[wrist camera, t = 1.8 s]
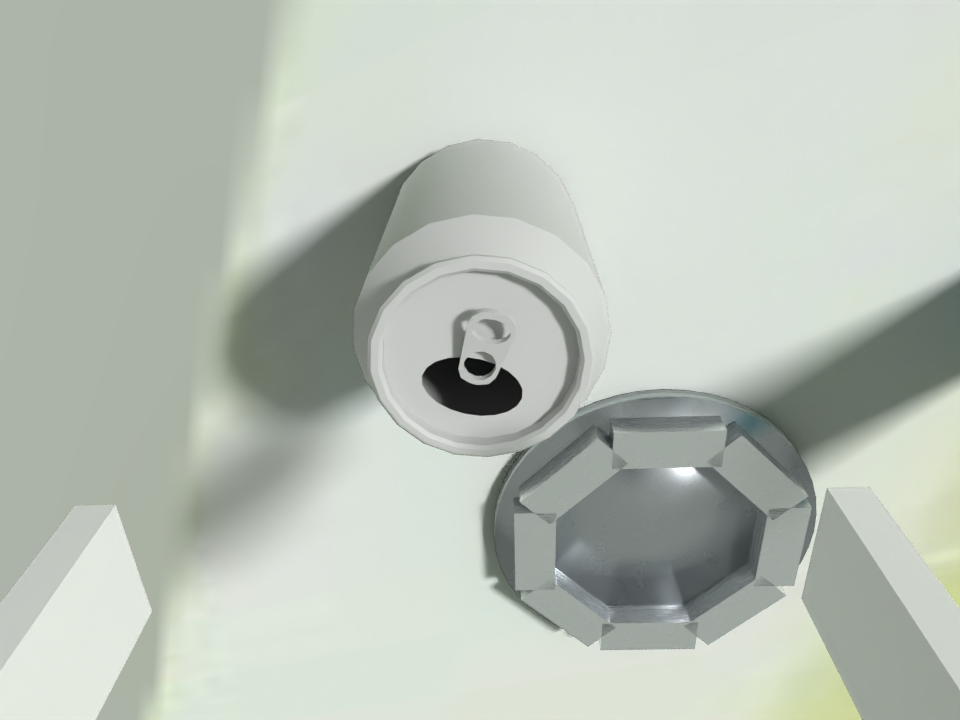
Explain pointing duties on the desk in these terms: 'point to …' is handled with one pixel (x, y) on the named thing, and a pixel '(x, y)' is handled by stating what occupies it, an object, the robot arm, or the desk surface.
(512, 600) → the desk surface
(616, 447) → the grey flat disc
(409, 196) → the can
